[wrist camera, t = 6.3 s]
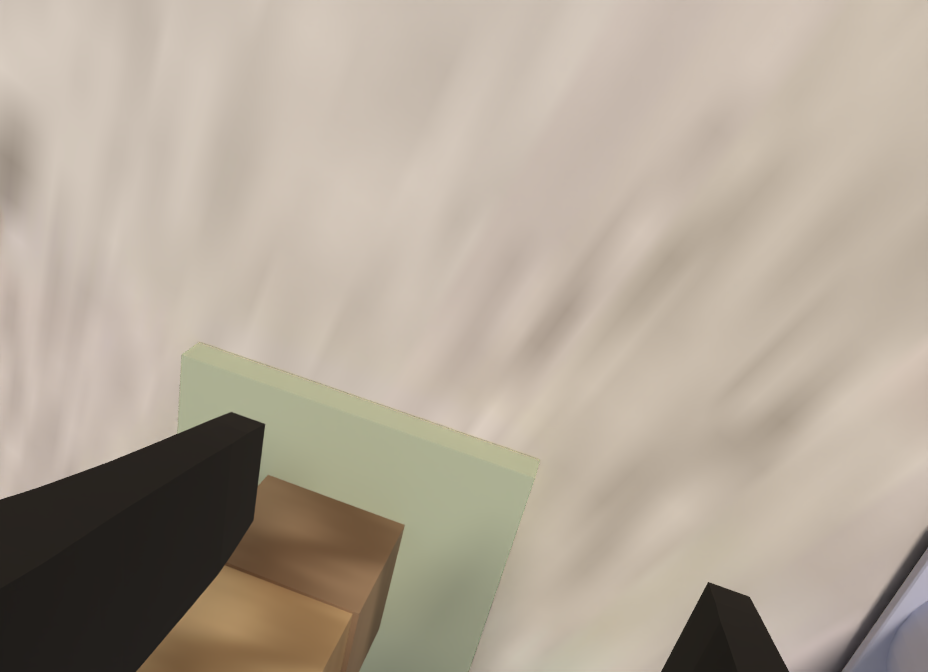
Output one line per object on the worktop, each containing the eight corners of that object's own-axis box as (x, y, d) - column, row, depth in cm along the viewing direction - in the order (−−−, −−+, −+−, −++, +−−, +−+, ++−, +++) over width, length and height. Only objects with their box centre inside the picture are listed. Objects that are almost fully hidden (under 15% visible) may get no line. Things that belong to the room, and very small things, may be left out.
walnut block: (405, 524, 24) (359, 613, 20) (379, 628, 26) (333, 725, 22) (267, 474, 24) (199, 552, 21) (254, 580, 26) (190, 666, 23)
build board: (540, 460, 22) (535, 478, 22) (457, 703, 28) (449, 725, 27) (199, 342, 24) (181, 354, 23) (182, 594, 29) (167, 612, 28)
